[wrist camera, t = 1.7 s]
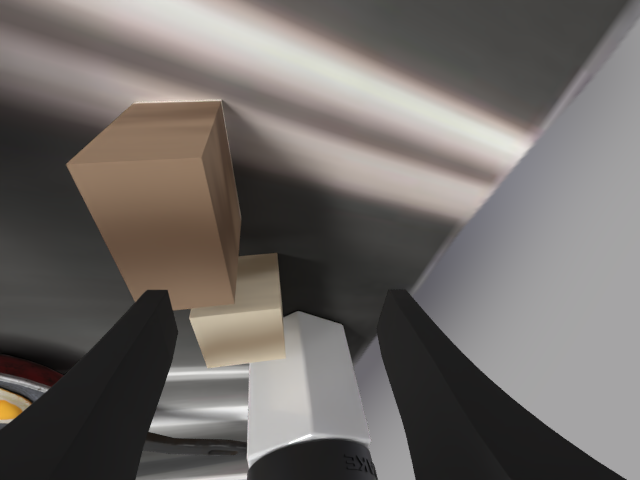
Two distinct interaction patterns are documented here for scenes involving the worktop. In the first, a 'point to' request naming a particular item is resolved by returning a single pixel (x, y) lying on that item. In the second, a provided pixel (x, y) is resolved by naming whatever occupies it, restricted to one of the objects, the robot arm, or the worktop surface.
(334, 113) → the worktop surface
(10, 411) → the frying pan
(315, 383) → the jar
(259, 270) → the maple block
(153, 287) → the walnut block
